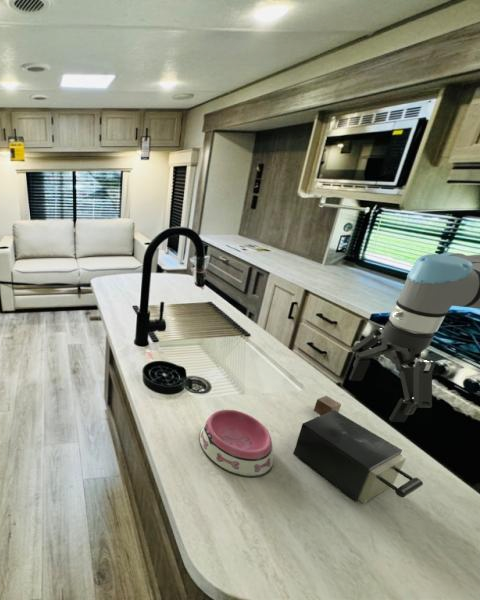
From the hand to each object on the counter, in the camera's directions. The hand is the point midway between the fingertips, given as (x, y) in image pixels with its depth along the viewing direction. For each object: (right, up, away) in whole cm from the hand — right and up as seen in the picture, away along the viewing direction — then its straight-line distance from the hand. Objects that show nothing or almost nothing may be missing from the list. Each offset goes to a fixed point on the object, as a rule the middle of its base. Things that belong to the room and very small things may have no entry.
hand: (374, 398), depth 77 cm
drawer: (-5, -19, -1) cm, 20 cm away
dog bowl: (-30, -17, +9) cm, 36 cm away
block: (+5, -11, +21) cm, 24 cm away
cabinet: (-7, -19, +3) cm, 20 cm away
